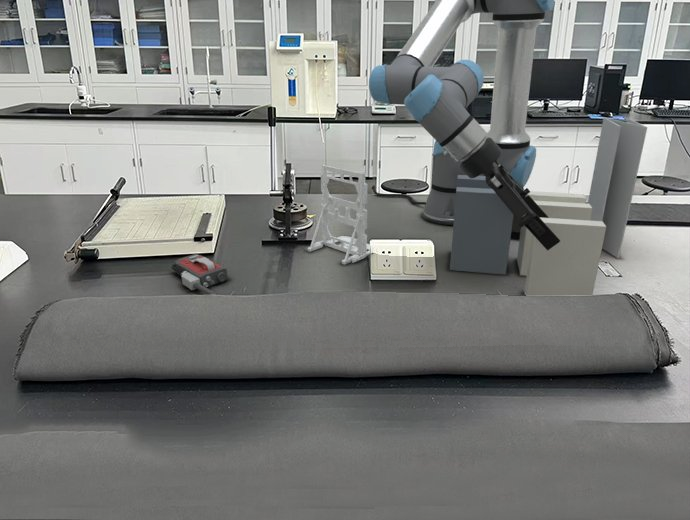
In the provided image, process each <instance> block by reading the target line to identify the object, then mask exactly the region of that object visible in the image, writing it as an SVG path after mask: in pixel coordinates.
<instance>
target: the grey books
mask: <svg viewBox="0 0 690 520" xmlns="http://www.w3.org/2000/svg"><path fill="white" fill-rule="evenodd" d="M485 178H486V177H485V176H477V177H475V178H469V177H468V176H467V175H458V176H457V188H456V200H455V212H454V224H453V225H452V237H451V249H450V261H449V271H456V272H457V271H458V272H469V273H478V274H479V273H480V274H481V273H482V274H492V275H504V276H506V275H507V267H508V261H509V260H508V259H509V253H510V244H511V239H510V238H511V230H512V222H513V213H512V212H511V211H510V210H509V208H508V207H507V206H506V205H505V203H504V202H503V201H502V200H501V199H500V197H499V196H498V195H497V194H496V193H495V191H494V190H493V189H492V188H491V187H489V186H488V184H487V183H486V179H485Z"/></svg>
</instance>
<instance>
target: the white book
mask: <svg viewBox="0 0 690 520" xmlns="http://www.w3.org/2000/svg"><path fill="white" fill-rule="evenodd" d="M539 218H540V219H541V220H542V221H543V222H544V223H545V224H546V225H547V226H548V227H549V229H550V230H551V231H552V232H553V233H554V234H555V235H556V236H557V237H558V239H559V240H560V242H559V243H558V244H556V245H555V246H553V247H552V248H551V249H549V250H548V251H547V250H546V248H545V247H544V246H543V245H542V244H541V243H540V242H539V241H538V240H537V239H536V237H535V236H534V235H533V236H532V243H531V250H530V257H529V264H528V271H527V276H525V277H526V278H525V285H524V291H523V292H524V296H525V295H592V296H593V294H594V290H595V284H596V279H597V275H598V270H599V264H600V260H601V254H602V250H603V249H602V245H603V241H604V236H605V231H606V225H605V224H604V223H603V221H588V220H572V219H557V218H541V217H539Z"/></svg>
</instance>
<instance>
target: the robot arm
mask: <svg viewBox="0 0 690 520" xmlns="http://www.w3.org/2000/svg"><path fill="white" fill-rule="evenodd" d="M554 6H555V0H434V3H433V4H432V6H431V7H430V9H429V10H428V12H427V13H426V15H425V16H424V17H423V18H422V20H421V21H420V23H419V24H418V26H417V27H416V29H415V30H414V31H413V33H412V34H411V36H410V37H409V38H408V40H407V41H406V43H405V44H404V46H402V48H401V50H400V51H399V52H398V54H397V56H396V57H395V58H394V60H393V61H392V62H391V64H387V63H385V64H380V65H376V66H375V67H373V69H372V70H371V71H370V75H369V78H368V90H369V93H370V96H371V99H373V100H374V102H376V103H380V104H381V103H383V104H389V105H402V106H403V105H404V107H405V109H407V111H408V112H409V113H410V114H411V116H412V117H413V119H414V120H415V121H416V122H417V123H419V124H420V126H421V127H422V128H424V130H425V131H426V132H427V133H428V134H429V135H430V136H431V137H432V138H433V139H434V140H435V142H434V144H433V150H432V151H433V152H432V155H431V156H432V164H431V180H430V183H431V184H430V191H429V193H428V196H427V199H426V202H425V201H416V200H414V198H413V197H412V196H410V195H409V194H404V193H381V192H378V191H377V190H376V185H373V184H372V186H371V190H372V192H373V194H375V195H376V196H378V197H387V198H388V197H389V198H390V197H401V198H407V199H409V200H410V202H411V203H412V204H414V205H419V206H420V205H423V210H422V217H423V219H425V220H427V221H428V222H431V223H433V224H437V225H443V226H453V224H454V212H455V200H456V188H457V176H458V175H467V176H468V177H469V178H475V177H477V176H485V177H486V178H485V179H486V183H487V184H488V186H489V187H491V188H492V189H493V190H494V191H495V193H496V194H497V195H498V196H499V197H500V199H501V200H502V201H503V202H504V203H505V205H506V206H507V207H508V208H509V210H510V211H511V212H512V213H513V214H514V216H515V217H516V218H517V219H518V221H519V224H518V225H519V227H521V228H522V227H523V226H524V225H525V227H526V228H527V229H528V230H529V231H530V232H531V233H532V234H533V235H534V236H535V237H536V239H537V240H538V241H539V242H540V243H541V244H542V245H543V246H544V247H545V248H546V250H547V251H548V250H549V249H551V248H552V247H553V246H555V245H556V244H558V243H559V242H560V240H559V239H558V237H557V236H556V235H555V234H554V233H553V232H552V231H551V230H550V229H549V227H548V226H547V225H546V224H545V223H544V222H543V221H542V220H541V219H540V218H539V217H541V218H549V217H548V216H547V215H546V214H545V213H544V211H543V210H542V209H541V208H540V207H539V206H538V205H537V204H536V203H535V201H534V200H533V199H532V198H531V197H530V196H529V195H528V196H526V195H527V194H528V193H530V191H531V190H530V189H529V188H528V187H526V188H524V187H525V186H526V185H527V183H528V181H529V180H530V178H531V175H532V172H533V169H534V165H535V162H536V157H537V147H536V146H534V145H531V137H530V136H531V135H529V134H528V133H527V132H526V125H527V115H528V106H529V96H530V88H531V82H532V81H531V80H532V71H533V61H534V52H535V46H536V45H535V44H536V36H537V35H536V34H537V28H538V27H539V26H540V25H541V24H542V23H543V22H544V21H545V17H546V15H545V14H546V13H548V12H551V11H552V10H553V9H554ZM490 13H491V14H492V19H491V20H492V23H493V24H494V25H495V27H496V28H497V37H496V38H497V40H496V50H495V51H496V52H495V63H494V64H495V65H494V76H493V89H492V101H491V111H490V112H491V114H490V127H489V130H488V131H486V130H485V129H484V127H482V125H481V124H480V123H479V122H478V121H477V120H476V119H475V118H474V117H473V115H471V114H470V113H469V112H468V110H467V108H468V107H469V106H470V105H471V103H472V102H473V101H474V100H475V99H477V97H478V95H479V93H480V92H481V90H482V88H483V86H484V81H485V80H484V79H485V77H484V72H483V70H482V68H481V66H480V65H479V64H478V63H476V62H475V61H473V60H471V59H460V60H457V61H456V62H454V63H453V64H451V65H449V66H434V65H435V64H436V62H437V61H438V60H439V58H440V57H441V55H442V54H443V52H444V50H445V48H446V47H447V45H448V44H449V43H450V41H451V39H452V38H453V36H454V34H456V32H457V30H458V29H459V28H460V26H461V24H462V23H465V22H466V21H468V20H469V19H470V18H471V17H472V15H475V14H490ZM524 214H526V215H525V216H524V217H522V216H523V215H524Z"/></svg>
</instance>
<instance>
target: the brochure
mask: <svg viewBox="0 0 690 520" xmlns="http://www.w3.org/2000/svg"><path fill="white" fill-rule="evenodd" d="M647 130H648V127H647V126H646V125H644V124H642V123H639V122H638V121H635V120H633V119H631V118H629V117H627V118H626V121H622V120H618V119H614V118H609V117H603V119H602V125H601V130H600V134H599V141H598V145H597V151H596V156H595V161H594V168H593V173H592V179H591V184H590V188H589V189H590V190H589V194H588V198H587V204H590V205H591V207H592V213H591V218H590V221H603V223H604V224H605V225H606V231H605V236H604V241H603V245H602V250H604V251H605V252H607V253H609V254H610V255H612V256H613V257H615V258H617V259H619V258H620V257H621V251H622V245H623V242H624V237H625V232H626V228H627V223H628V218H629V214H630V209H631V204H632V200H633V196H634V191H635V187H636V181H637V178H638V173H639V168H640V164H641V159H642V154H643V149H644V145H645V140H646V135H647V132H648V131H647Z"/></svg>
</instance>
